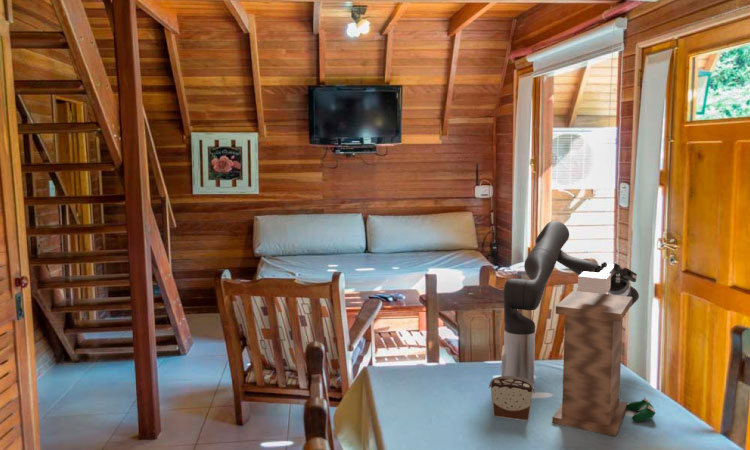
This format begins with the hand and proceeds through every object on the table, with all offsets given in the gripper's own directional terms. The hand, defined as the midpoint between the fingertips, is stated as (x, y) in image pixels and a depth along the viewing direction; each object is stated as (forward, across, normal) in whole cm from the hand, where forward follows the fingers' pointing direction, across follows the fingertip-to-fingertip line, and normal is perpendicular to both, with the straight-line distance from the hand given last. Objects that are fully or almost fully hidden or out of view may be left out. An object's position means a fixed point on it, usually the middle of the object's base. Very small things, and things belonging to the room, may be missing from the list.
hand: (609, 265), depth 181 cm
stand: (-1, 0, +44) cm, 44 cm away
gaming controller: (-6, +12, +41) cm, 43 cm away
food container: (+8, -19, +49) cm, 53 cm away
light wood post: (+8, 0, +7) cm, 11 cm away
